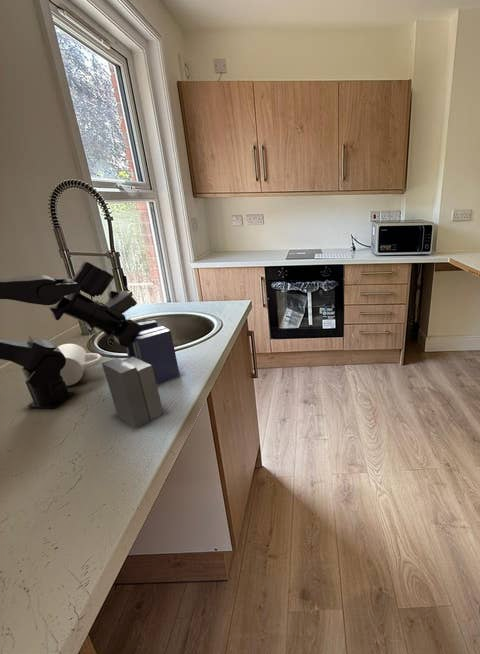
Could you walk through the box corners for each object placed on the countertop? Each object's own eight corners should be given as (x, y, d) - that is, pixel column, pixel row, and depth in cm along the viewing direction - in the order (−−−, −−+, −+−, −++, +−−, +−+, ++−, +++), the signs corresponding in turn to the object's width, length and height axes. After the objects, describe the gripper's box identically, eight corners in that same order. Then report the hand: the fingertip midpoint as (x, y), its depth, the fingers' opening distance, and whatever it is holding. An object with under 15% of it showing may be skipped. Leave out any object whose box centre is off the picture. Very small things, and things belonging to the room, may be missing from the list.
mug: (49, 390, 87) (39, 361, 84) (57, 373, 95) (47, 346, 92) (104, 378, 92) (96, 351, 89) (107, 363, 100) (99, 337, 97)
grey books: (117, 415, 76) (101, 363, 71) (144, 402, 81) (131, 352, 76) (136, 428, 72) (121, 373, 67) (164, 413, 77) (151, 361, 72)
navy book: (133, 373, 93) (124, 328, 88) (130, 370, 95) (121, 325, 90) (163, 365, 98) (157, 321, 94) (160, 362, 100) (154, 319, 95)
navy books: (149, 387, 87) (137, 340, 82) (141, 380, 91) (129, 334, 86) (180, 375, 92) (170, 330, 87) (172, 369, 96) (162, 325, 91)
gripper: (123, 291, 79) (178, 323, 91) (96, 277, 91) (148, 307, 103) (93, 333, 77) (154, 360, 89) (70, 313, 89) (126, 339, 100)
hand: (146, 339), depth 95 cm, fingers open, 6 cm apart
